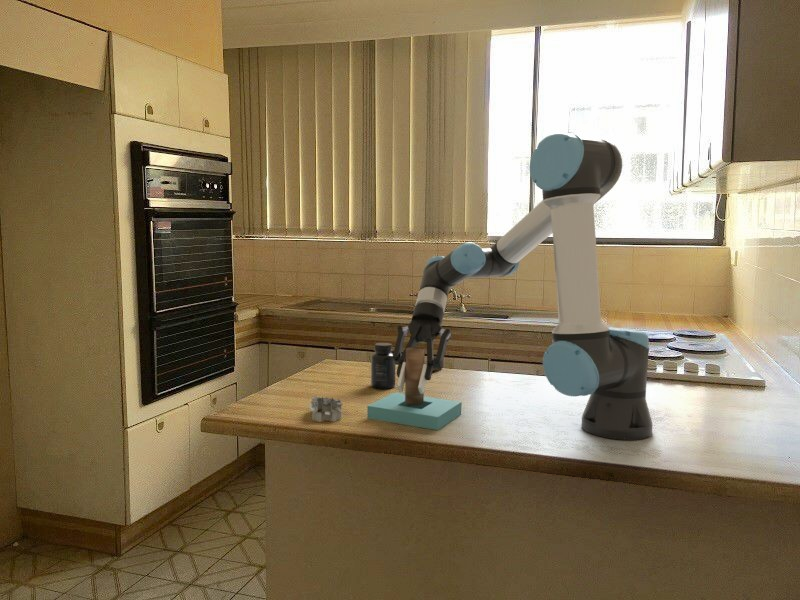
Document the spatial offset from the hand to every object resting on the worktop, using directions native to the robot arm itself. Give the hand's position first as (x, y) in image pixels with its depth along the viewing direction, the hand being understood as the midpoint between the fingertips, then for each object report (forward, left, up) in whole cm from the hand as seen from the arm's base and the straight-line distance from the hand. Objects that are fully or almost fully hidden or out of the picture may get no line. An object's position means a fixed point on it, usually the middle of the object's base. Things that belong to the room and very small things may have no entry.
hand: (410, 389), depth 154 cm
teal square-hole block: (0, -4, -7) cm, 8 cm away
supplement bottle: (+20, -25, -8) cm, 33 cm away
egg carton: (+19, +6, -8) cm, 22 cm away
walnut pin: (+1, -4, -4) cm, 6 cm away
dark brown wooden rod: (+17, -45, -8) cm, 49 cm away
